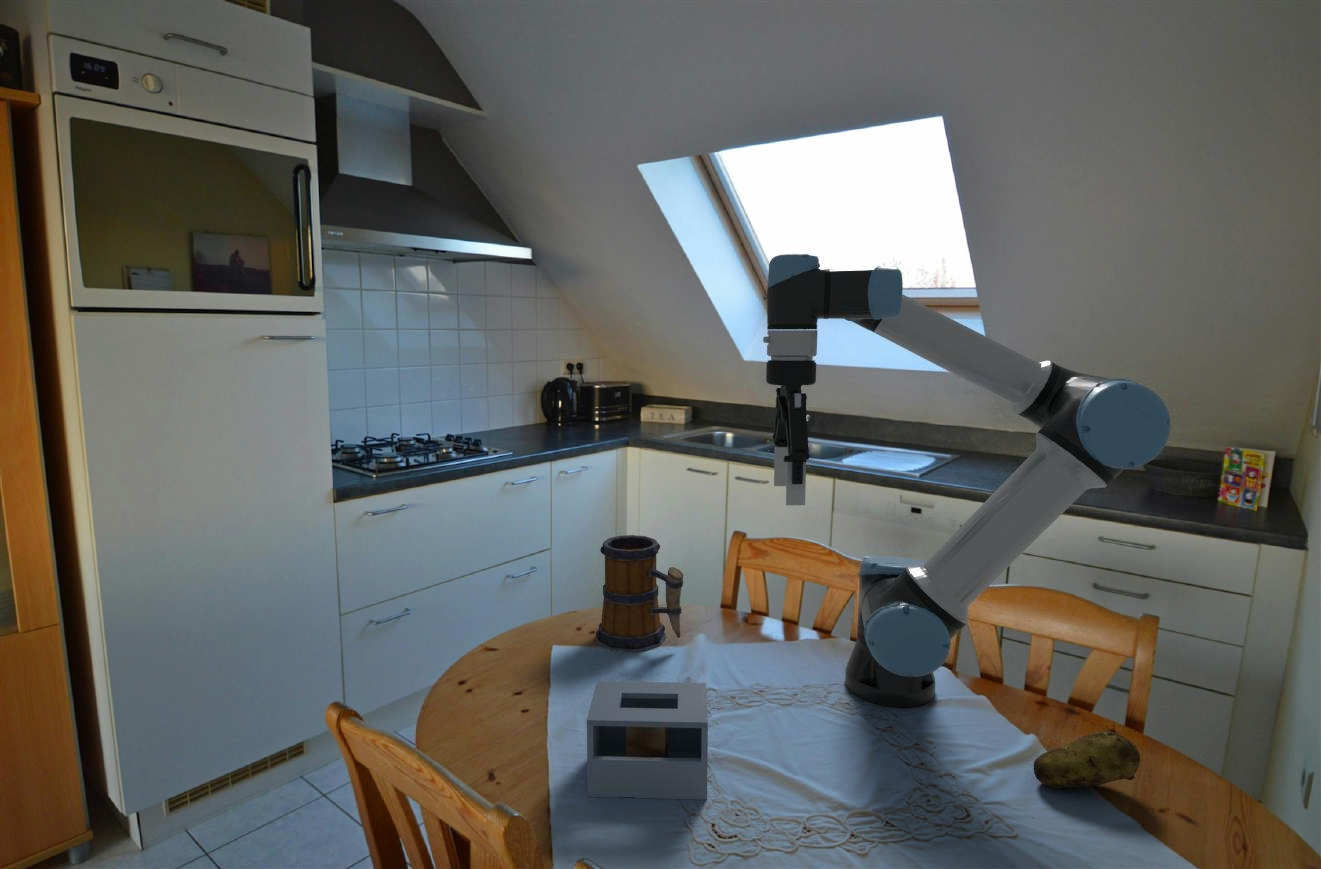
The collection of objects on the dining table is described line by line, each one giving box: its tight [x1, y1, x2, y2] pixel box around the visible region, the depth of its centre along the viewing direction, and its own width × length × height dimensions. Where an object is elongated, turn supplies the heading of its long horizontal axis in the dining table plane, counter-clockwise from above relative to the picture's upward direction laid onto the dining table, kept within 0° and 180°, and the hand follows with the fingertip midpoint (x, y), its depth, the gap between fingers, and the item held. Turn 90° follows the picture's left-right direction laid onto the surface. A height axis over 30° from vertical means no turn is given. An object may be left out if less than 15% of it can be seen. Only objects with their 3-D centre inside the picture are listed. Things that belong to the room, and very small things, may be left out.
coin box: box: [586, 680, 709, 800], centre depth 103 cm, size 16×11×11 cm
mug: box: [595, 534, 684, 654], centre depth 148 cm, size 19×14×20 cm
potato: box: [1033, 730, 1141, 789], centre depth 101 cm, size 8×13×8 cm, turn 68°
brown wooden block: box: [626, 727, 668, 758], centre depth 104 cm, size 6×3×8 cm, turn 80°
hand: (788, 494), depth 115 cm, fingers open, 13 cm apart
